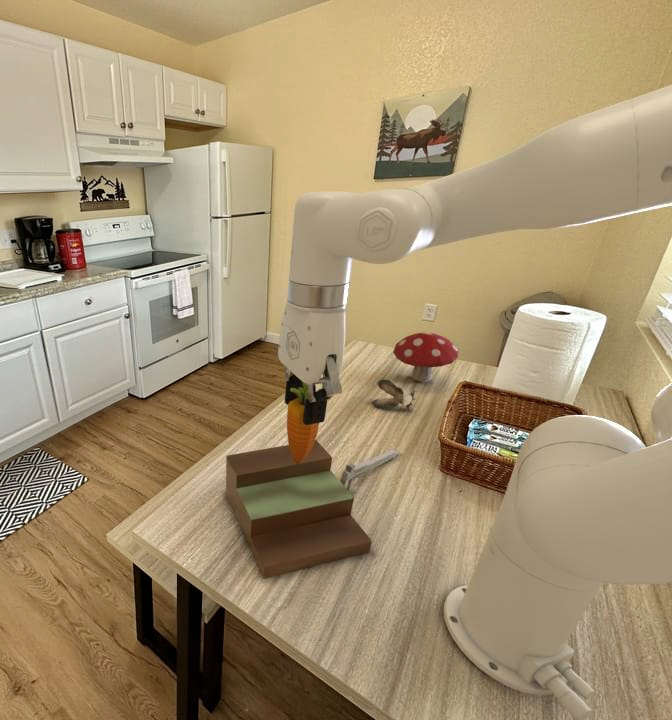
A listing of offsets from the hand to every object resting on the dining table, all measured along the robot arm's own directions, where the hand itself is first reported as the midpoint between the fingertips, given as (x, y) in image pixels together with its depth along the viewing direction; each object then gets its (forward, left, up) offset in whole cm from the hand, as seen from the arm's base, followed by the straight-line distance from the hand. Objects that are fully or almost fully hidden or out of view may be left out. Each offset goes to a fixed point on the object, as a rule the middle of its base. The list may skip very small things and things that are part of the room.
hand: (303, 411), depth 58 cm
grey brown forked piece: (+28, -43, -22) cm, 56 cm away
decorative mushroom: (+38, -60, -22) cm, 74 cm away
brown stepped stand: (0, 0, -22) cm, 22 cm away
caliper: (+7, -21, -22) cm, 32 cm away
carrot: (0, 0, -10) cm, 10 cm away
